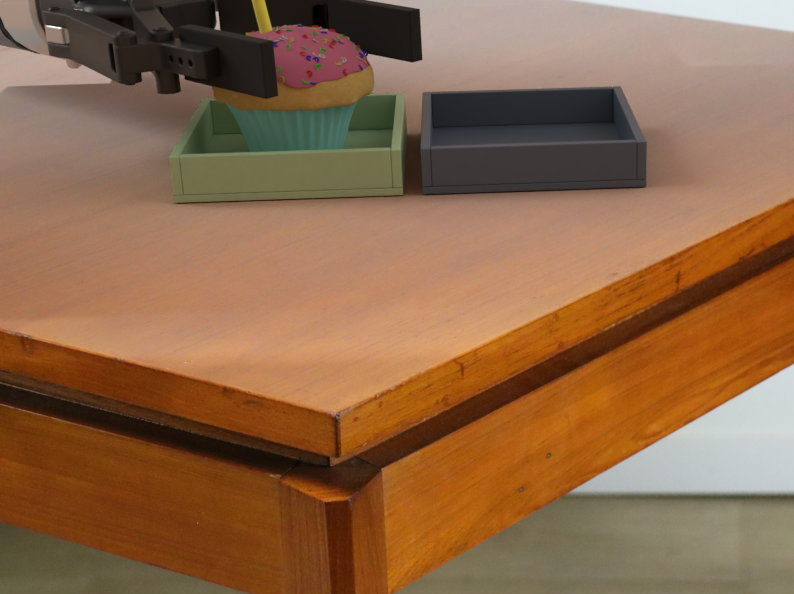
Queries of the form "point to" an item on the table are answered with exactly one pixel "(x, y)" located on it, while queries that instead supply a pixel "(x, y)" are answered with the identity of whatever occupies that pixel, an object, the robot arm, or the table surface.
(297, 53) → the cupcake
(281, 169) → the green tray
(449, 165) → the slate tray
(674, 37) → the table surface
